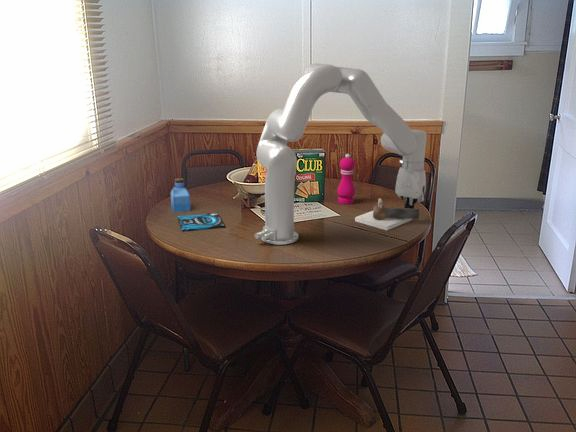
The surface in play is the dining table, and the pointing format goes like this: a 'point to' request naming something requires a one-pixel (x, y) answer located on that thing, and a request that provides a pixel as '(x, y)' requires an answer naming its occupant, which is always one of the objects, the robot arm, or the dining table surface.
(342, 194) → the pepper mill
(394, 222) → the dial board
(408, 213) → the brown grey handled piece
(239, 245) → the dining table surface
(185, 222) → the guitar string package
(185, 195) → the perfume bottle
